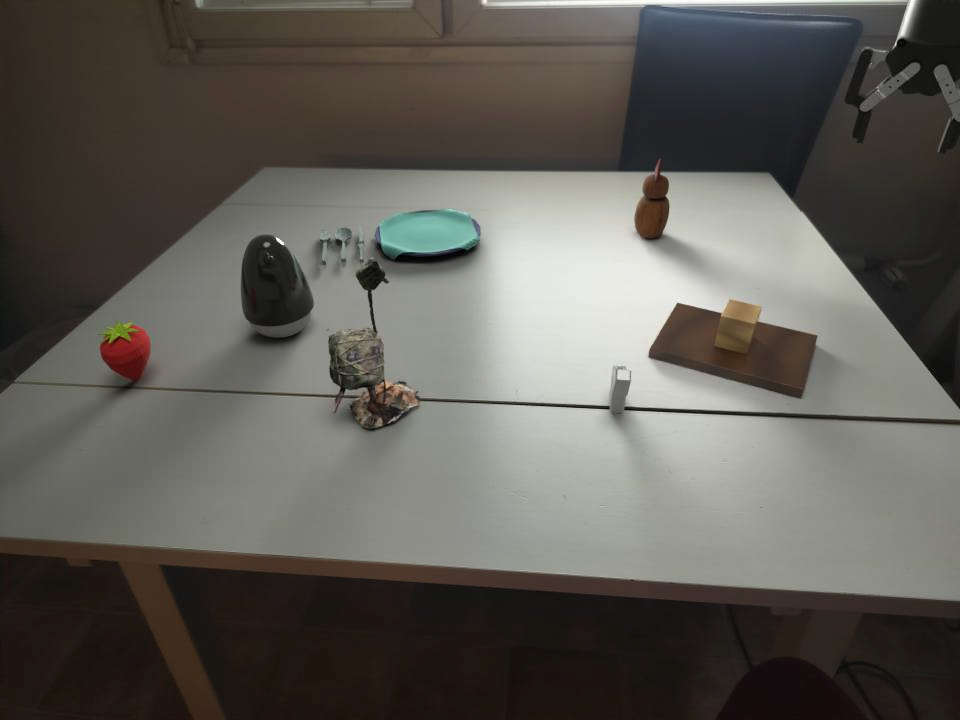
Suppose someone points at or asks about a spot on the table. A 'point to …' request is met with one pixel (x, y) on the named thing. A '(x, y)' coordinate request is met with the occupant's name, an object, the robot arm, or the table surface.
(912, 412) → the table surface
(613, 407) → the lighter
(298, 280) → the black egg shaped dome
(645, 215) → the wooden figurine
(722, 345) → the beech block
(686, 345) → the walnut board
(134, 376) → the strawberry
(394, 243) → the cutlery set
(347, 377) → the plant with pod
